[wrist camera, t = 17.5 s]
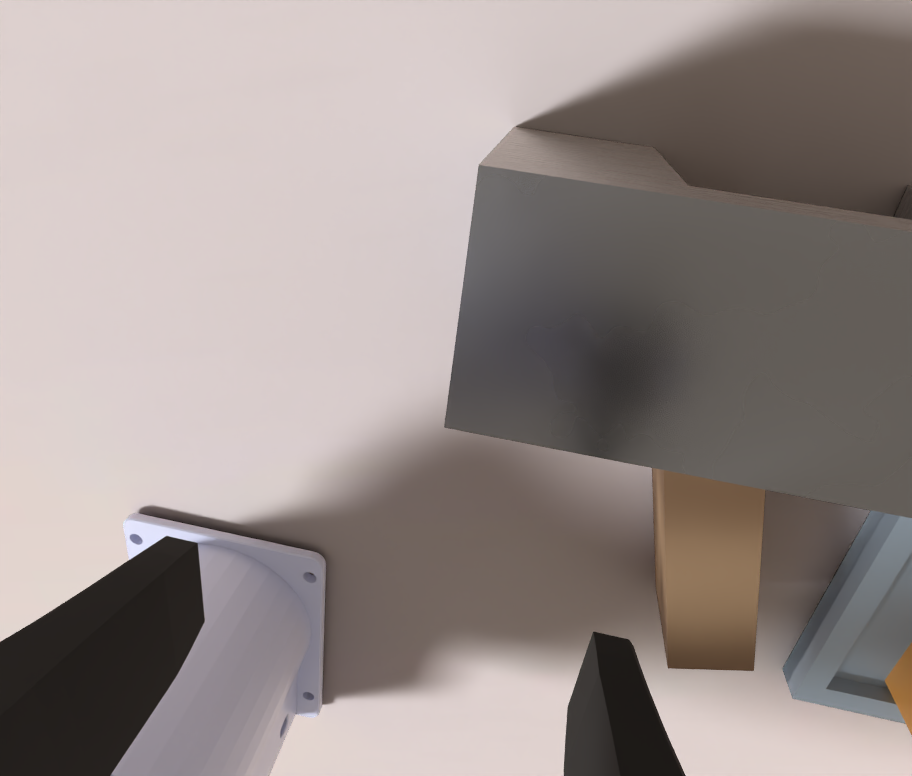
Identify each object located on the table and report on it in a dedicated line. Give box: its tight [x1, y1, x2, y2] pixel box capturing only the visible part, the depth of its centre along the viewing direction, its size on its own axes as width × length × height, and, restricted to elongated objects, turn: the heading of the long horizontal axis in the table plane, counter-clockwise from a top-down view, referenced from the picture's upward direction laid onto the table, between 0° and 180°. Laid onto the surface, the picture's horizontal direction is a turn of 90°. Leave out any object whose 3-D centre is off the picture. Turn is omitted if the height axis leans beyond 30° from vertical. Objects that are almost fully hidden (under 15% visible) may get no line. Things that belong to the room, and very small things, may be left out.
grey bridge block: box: [444, 127, 912, 518], centre depth 14 cm, size 5×13×7 cm, turn 83°
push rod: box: [652, 468, 765, 671], centre depth 17 cm, size 13×2×4 cm, turn 9°
